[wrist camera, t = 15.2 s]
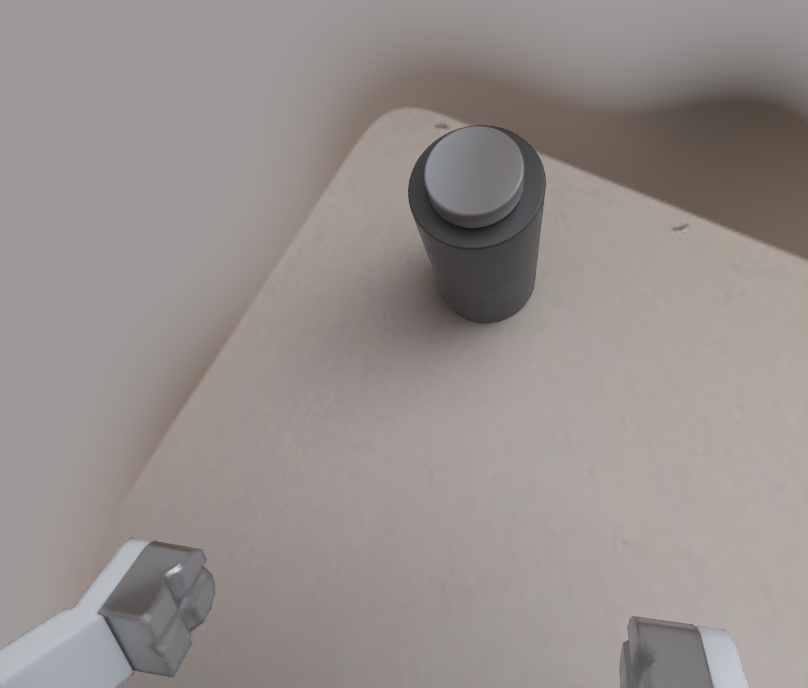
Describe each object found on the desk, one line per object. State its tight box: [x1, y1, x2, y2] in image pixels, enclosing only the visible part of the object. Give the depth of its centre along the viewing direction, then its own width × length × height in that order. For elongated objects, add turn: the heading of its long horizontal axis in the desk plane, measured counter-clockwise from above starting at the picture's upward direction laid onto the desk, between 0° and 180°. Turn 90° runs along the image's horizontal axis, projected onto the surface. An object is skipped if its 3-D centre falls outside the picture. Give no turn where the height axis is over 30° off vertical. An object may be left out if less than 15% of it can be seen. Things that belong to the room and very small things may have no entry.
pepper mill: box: [408, 125, 546, 323], centre depth 23 cm, size 5×5×10 cm
